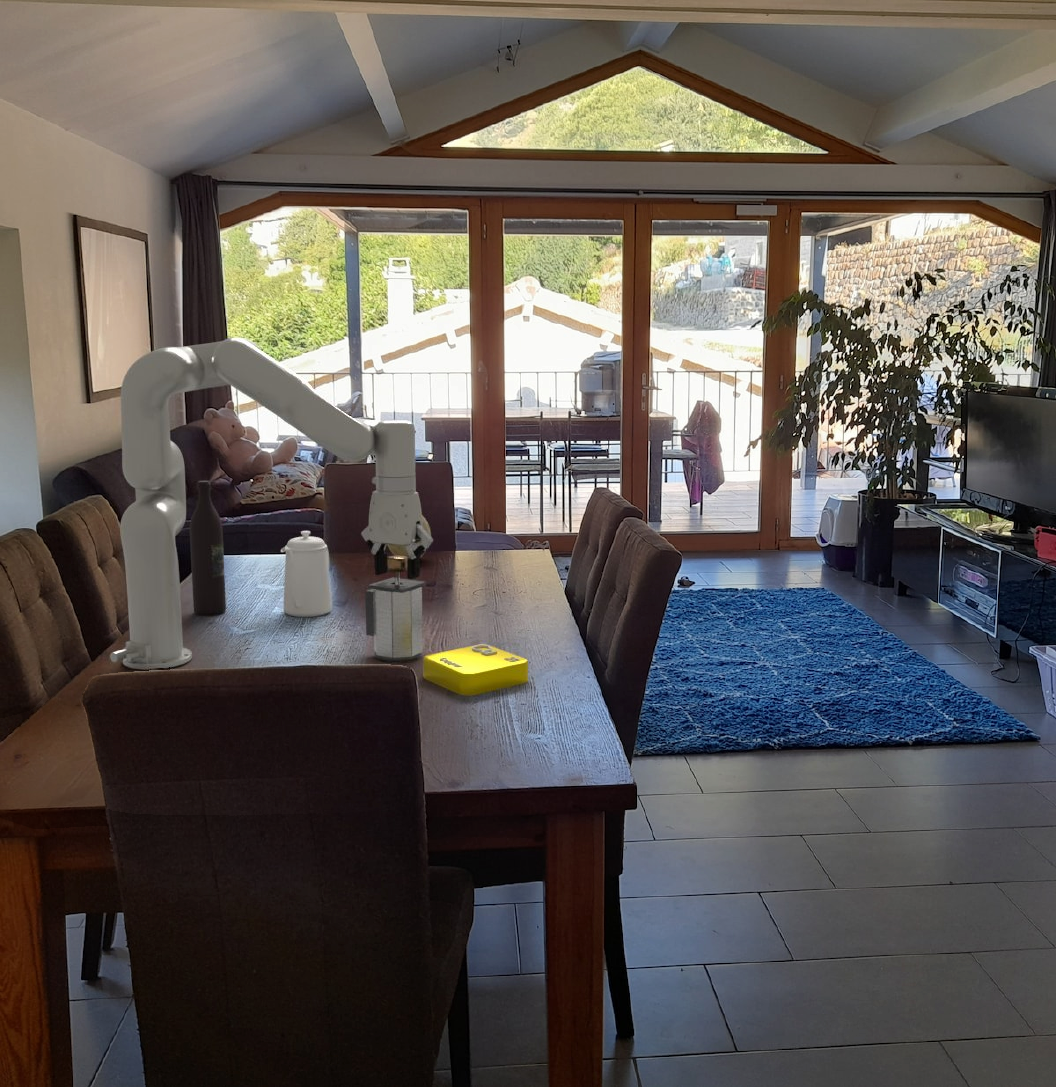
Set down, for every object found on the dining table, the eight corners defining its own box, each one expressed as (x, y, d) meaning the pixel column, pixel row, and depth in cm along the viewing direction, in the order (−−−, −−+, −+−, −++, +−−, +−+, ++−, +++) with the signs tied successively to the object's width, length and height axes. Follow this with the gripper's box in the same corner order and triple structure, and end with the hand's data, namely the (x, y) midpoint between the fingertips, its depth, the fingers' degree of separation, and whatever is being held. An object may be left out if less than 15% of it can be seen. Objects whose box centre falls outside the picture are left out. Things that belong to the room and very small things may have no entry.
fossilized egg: (414, 553, 316) (414, 502, 313) (439, 560, 306) (439, 508, 303) (377, 558, 308) (376, 506, 305) (402, 566, 298) (401, 512, 296)
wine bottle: (216, 617, 242) (210, 483, 236) (187, 615, 243) (181, 482, 238) (231, 609, 249) (226, 479, 243) (203, 608, 250) (197, 478, 244)
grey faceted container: (404, 665, 207) (403, 590, 204) (355, 656, 212) (353, 583, 210) (430, 653, 215) (430, 581, 212) (383, 645, 220) (382, 575, 218)
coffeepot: (260, 625, 235) (257, 540, 232) (306, 598, 260) (304, 521, 256) (307, 627, 233) (305, 542, 230) (349, 601, 257) (347, 523, 254)
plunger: (402, 636, 208) (401, 562, 205) (374, 631, 211) (372, 558, 208) (421, 628, 213) (420, 556, 211) (394, 624, 217) (393, 553, 214)
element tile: (419, 678, 200) (418, 653, 199) (484, 664, 210) (484, 640, 209) (465, 699, 189) (465, 672, 188) (532, 683, 198) (533, 658, 197)
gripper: (347, 483, 208) (349, 574, 211) (422, 490, 200) (423, 584, 203) (370, 479, 214) (372, 567, 217) (444, 485, 206) (445, 577, 209)
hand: (397, 575), depth 210 cm, fingers open, 7 cm apart
